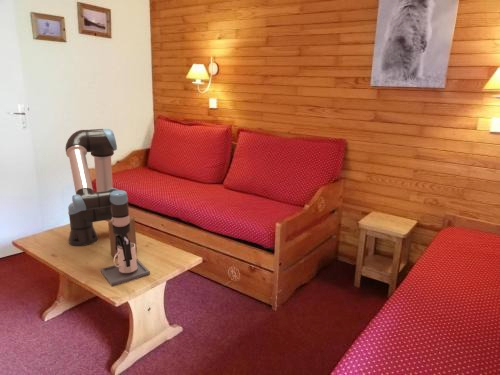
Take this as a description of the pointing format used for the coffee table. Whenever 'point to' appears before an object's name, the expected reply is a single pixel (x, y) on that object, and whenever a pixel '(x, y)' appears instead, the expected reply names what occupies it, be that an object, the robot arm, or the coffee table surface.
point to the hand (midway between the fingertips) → (124, 268)
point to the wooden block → (130, 235)
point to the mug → (121, 258)
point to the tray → (123, 274)
